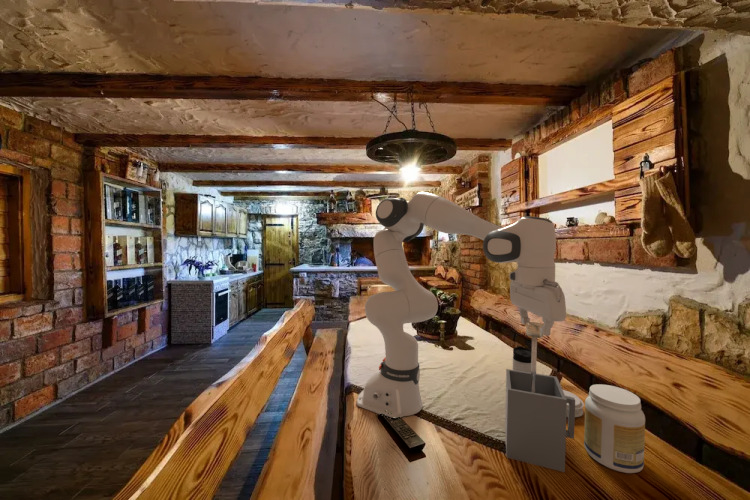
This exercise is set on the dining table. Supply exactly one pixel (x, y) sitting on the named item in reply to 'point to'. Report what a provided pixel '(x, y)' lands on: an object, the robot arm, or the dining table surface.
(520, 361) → the travel mug
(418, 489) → the dining table surface
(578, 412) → the lid
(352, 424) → the dining table surface
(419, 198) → the robot arm
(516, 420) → the box
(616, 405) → the supplement tub
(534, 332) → the plunger
